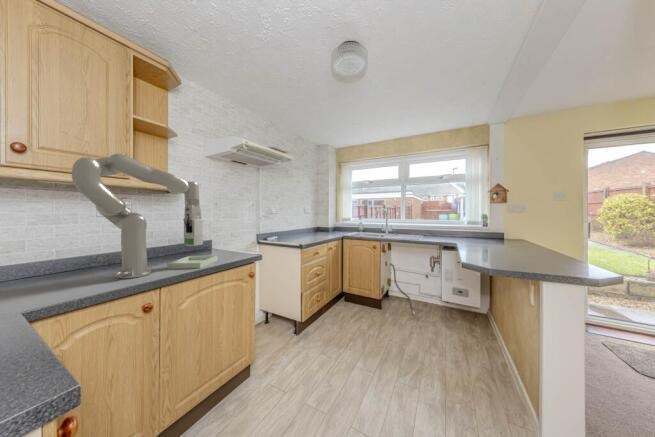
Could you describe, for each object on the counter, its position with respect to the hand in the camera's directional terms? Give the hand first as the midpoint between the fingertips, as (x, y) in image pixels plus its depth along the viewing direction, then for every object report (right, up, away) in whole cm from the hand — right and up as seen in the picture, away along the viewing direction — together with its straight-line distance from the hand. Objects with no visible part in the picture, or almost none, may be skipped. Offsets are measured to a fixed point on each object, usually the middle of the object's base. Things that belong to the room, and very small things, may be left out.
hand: (193, 231), depth 135 cm
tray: (0, -20, +1) cm, 20 cm away
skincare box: (0, -8, 0) cm, 8 cm away
